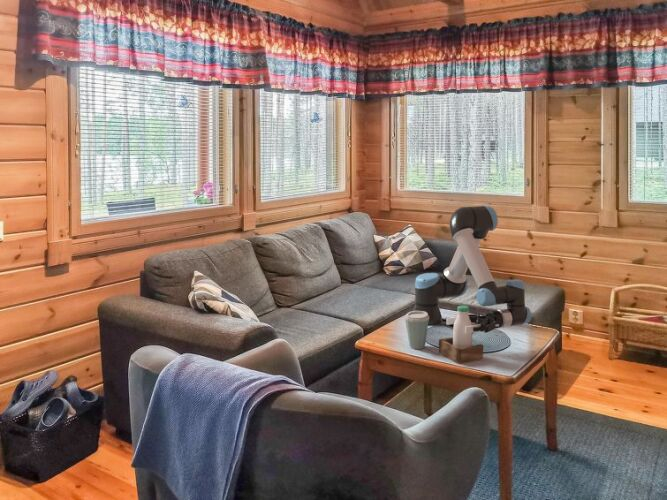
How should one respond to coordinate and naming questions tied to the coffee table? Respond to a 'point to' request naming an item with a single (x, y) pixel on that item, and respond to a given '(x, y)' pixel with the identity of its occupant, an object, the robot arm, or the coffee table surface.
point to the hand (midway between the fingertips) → (456, 325)
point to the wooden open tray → (460, 351)
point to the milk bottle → (462, 328)
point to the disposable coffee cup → (417, 328)
